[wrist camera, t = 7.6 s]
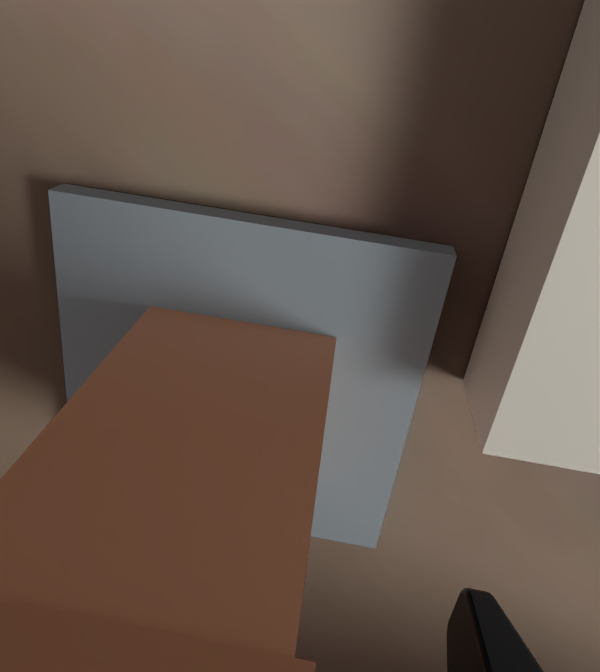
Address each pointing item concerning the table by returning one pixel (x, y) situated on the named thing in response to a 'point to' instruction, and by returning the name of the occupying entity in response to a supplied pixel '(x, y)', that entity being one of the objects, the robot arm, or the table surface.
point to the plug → (169, 505)
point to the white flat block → (549, 289)
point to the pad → (265, 315)
